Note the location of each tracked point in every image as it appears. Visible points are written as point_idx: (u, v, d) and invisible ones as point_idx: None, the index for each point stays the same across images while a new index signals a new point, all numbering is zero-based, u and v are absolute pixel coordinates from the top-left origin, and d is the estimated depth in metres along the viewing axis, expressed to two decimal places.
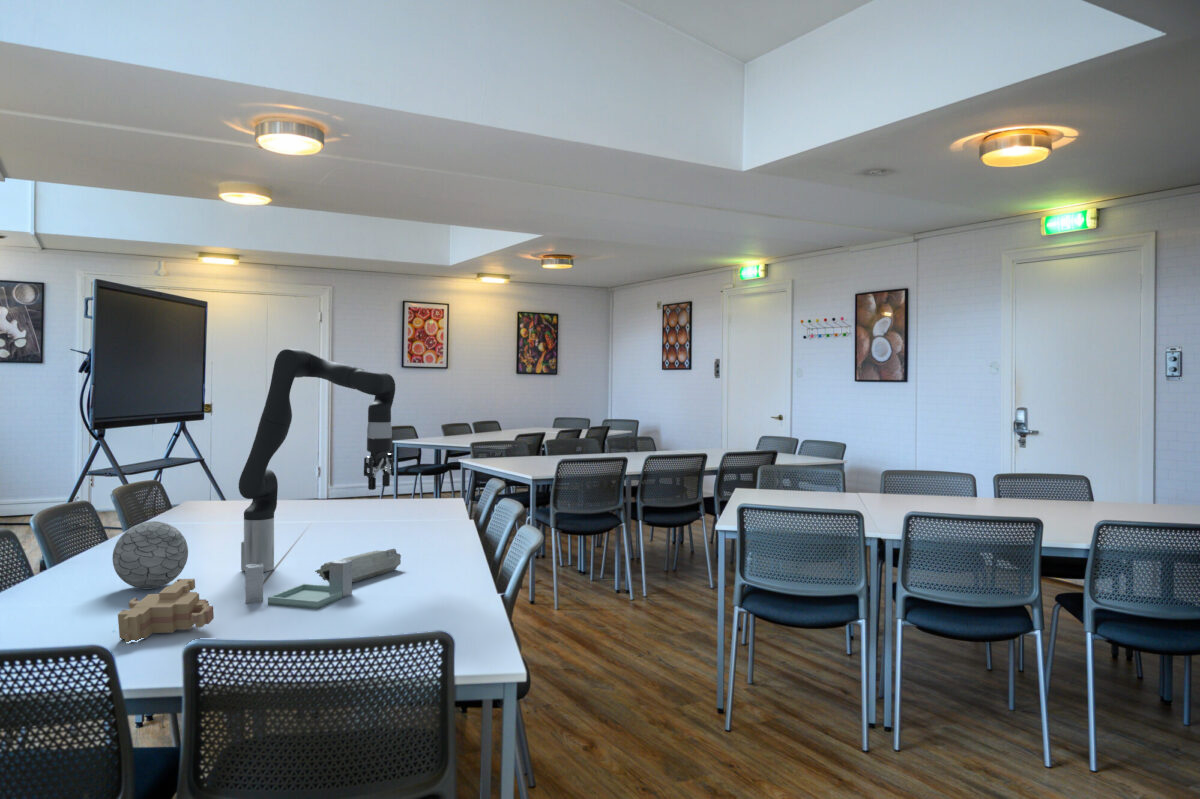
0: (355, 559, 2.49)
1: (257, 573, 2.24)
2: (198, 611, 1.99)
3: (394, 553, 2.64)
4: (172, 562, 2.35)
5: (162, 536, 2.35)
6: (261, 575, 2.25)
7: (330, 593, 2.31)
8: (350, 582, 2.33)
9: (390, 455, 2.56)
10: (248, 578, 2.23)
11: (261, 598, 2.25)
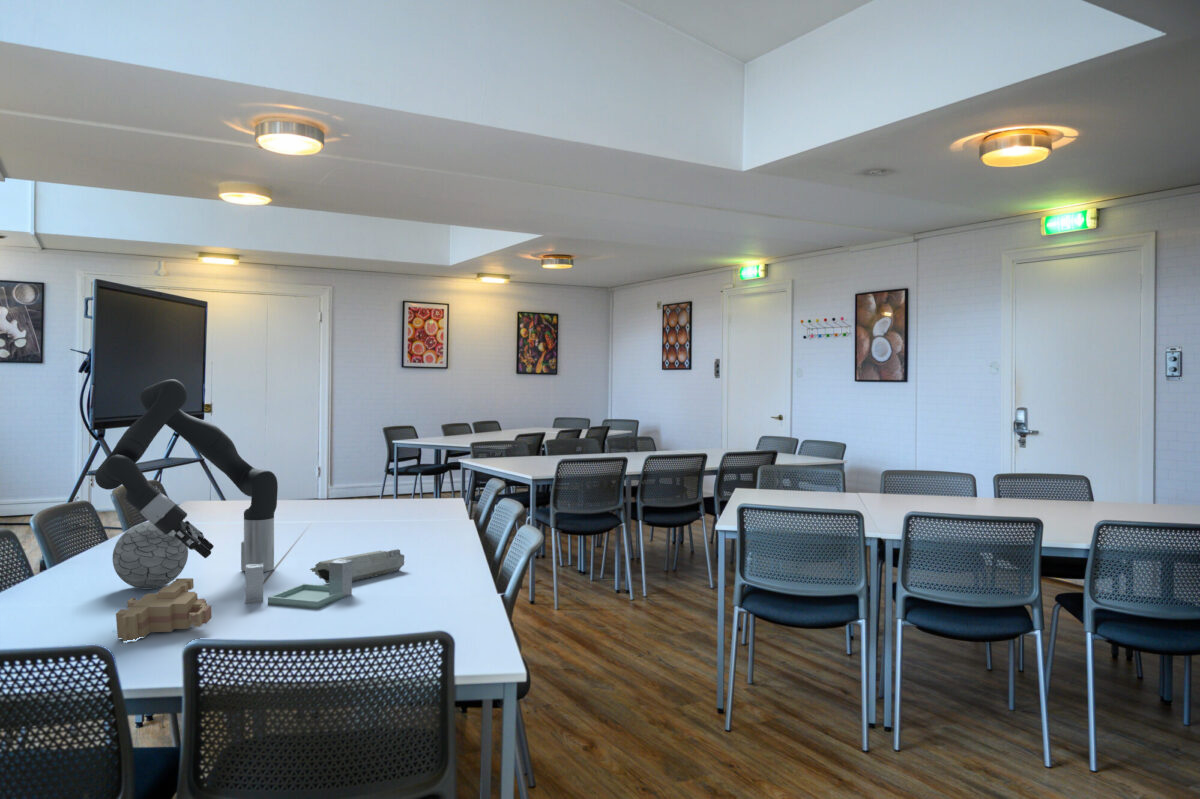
0: (352, 559, 2.49)
1: (257, 573, 2.24)
2: (196, 611, 2.00)
3: (397, 553, 2.63)
4: (172, 562, 2.35)
5: (162, 536, 2.35)
6: (261, 575, 2.25)
7: (330, 593, 2.31)
8: (350, 582, 2.33)
9: (186, 523, 2.25)
10: (248, 578, 2.23)
11: (261, 598, 2.25)
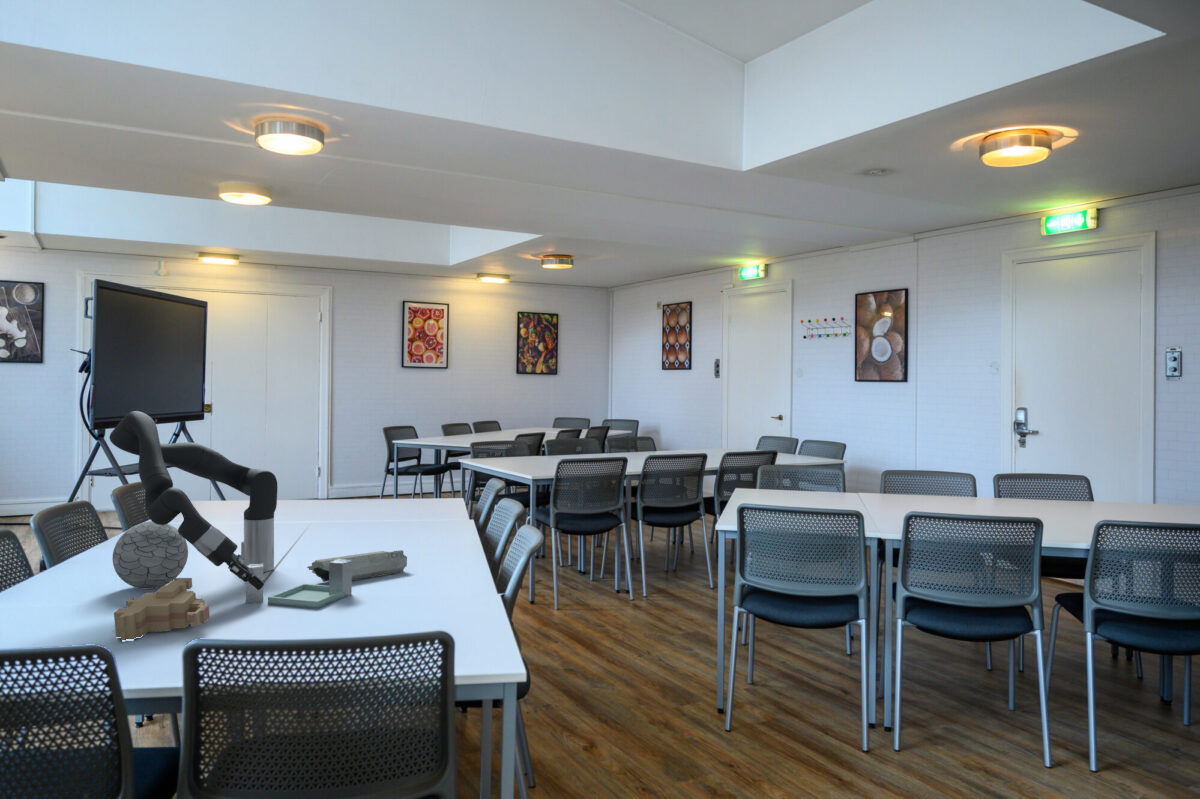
0: (349, 558, 2.50)
1: (257, 573, 2.24)
2: (194, 610, 2.00)
3: (400, 554, 2.62)
4: (172, 562, 2.35)
5: (162, 536, 2.35)
6: (262, 575, 2.25)
7: (330, 593, 2.31)
8: (349, 582, 2.33)
9: (238, 556, 2.30)
10: None
11: (261, 598, 2.25)
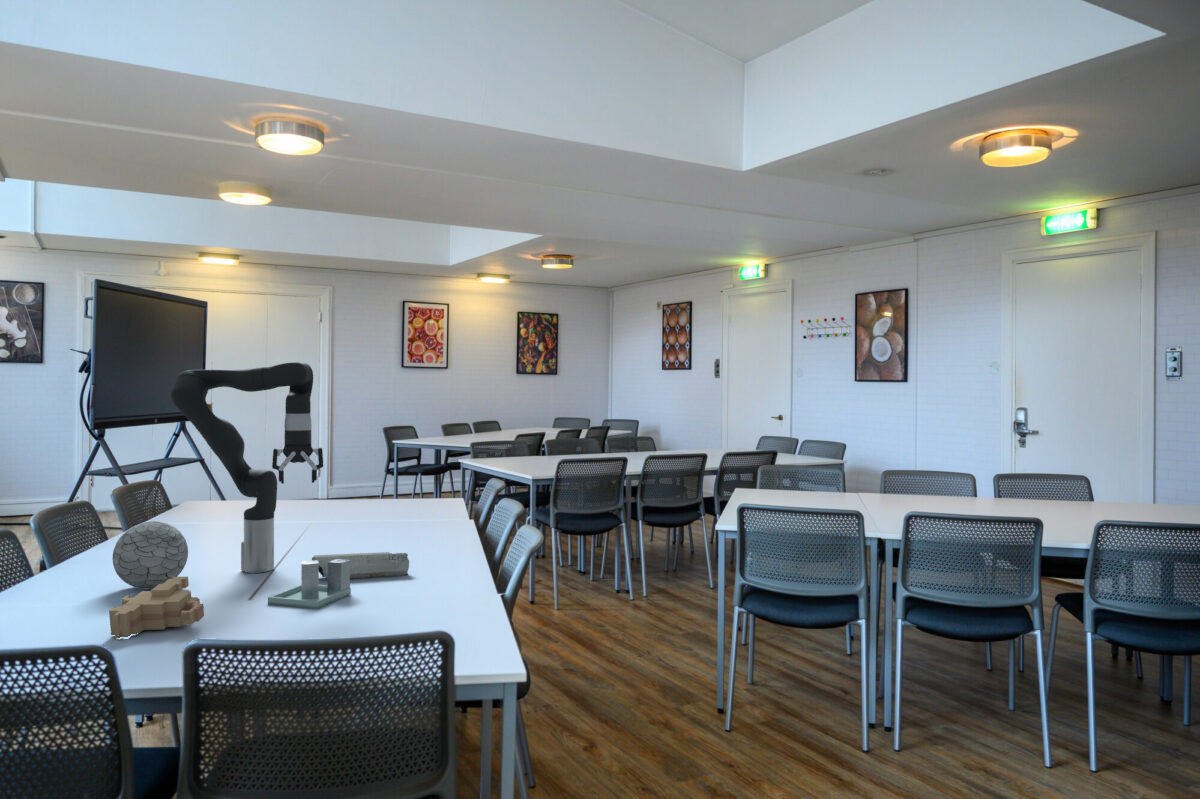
0: (346, 556, 2.53)
1: (313, 570, 2.26)
2: (189, 609, 2.01)
3: (402, 557, 2.57)
4: (172, 562, 2.35)
5: (162, 536, 2.35)
6: (317, 572, 2.27)
7: (328, 593, 2.31)
8: (348, 582, 2.33)
9: None
10: (304, 574, 2.26)
11: (317, 594, 2.27)
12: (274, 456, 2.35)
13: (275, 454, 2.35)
